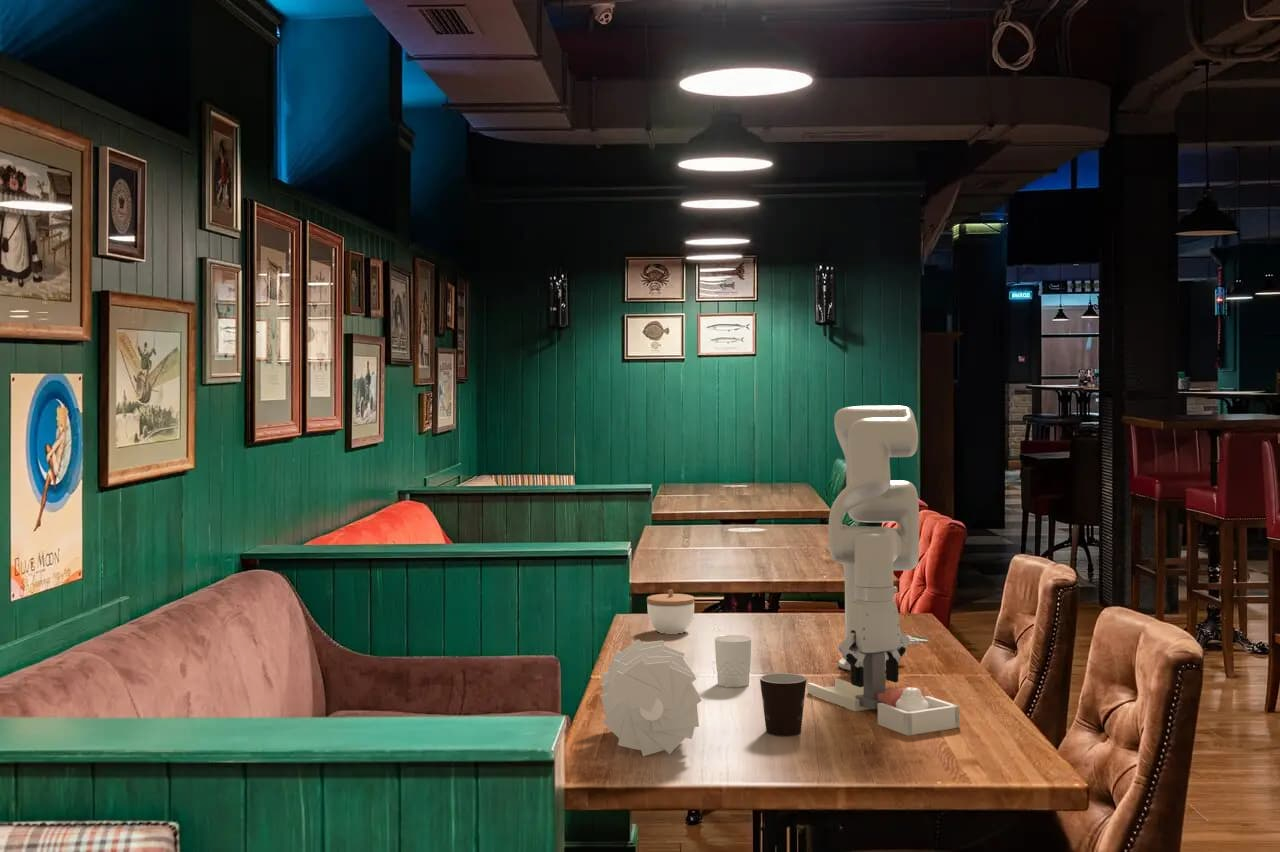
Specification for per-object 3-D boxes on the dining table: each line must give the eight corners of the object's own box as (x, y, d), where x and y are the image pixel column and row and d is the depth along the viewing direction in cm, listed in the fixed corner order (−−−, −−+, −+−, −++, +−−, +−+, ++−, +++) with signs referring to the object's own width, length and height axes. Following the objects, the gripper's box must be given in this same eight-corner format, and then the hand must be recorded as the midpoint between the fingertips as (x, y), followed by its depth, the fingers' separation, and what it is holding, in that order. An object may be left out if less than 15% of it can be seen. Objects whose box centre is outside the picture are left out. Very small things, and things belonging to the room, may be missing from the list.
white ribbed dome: (893, 719, 247) (892, 683, 247) (925, 719, 247) (924, 682, 247) (899, 727, 241) (898, 690, 241) (931, 727, 241) (931, 690, 241)
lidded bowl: (695, 636, 333) (695, 593, 332) (646, 636, 333) (646, 594, 333) (694, 627, 345) (693, 586, 345) (647, 627, 345) (646, 586, 345)
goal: (928, 716, 249) (928, 696, 249) (959, 727, 241) (959, 706, 241) (877, 724, 243) (877, 703, 243) (907, 735, 235) (907, 713, 235)
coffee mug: (794, 740, 233) (794, 685, 233) (752, 734, 238) (751, 680, 238) (821, 725, 243) (820, 672, 243) (779, 719, 248) (779, 668, 247)
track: (839, 689, 272) (839, 678, 272) (888, 706, 257) (888, 695, 257) (807, 693, 269) (807, 683, 269) (855, 711, 253) (855, 700, 253)
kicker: (876, 699, 258) (875, 648, 258) (912, 712, 248) (912, 658, 247) (854, 702, 256) (854, 650, 256) (890, 715, 245) (890, 661, 245)
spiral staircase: (669, 745, 245) (678, 778, 220) (585, 707, 245) (584, 735, 220) (709, 657, 246) (723, 680, 221) (625, 619, 246) (629, 637, 221)
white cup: (749, 689, 273) (749, 642, 273) (712, 687, 275) (712, 641, 275) (753, 680, 281) (753, 635, 281) (717, 679, 283) (717, 634, 282)
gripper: (898, 588, 261) (898, 675, 261) (826, 595, 253) (827, 684, 254) (921, 593, 254) (922, 682, 254) (848, 600, 246) (849, 692, 247)
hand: (874, 682), depth 254 cm, fingers open, 7 cm apart
